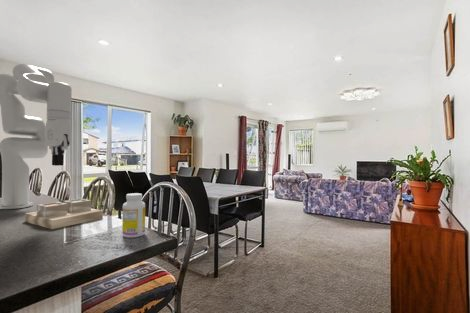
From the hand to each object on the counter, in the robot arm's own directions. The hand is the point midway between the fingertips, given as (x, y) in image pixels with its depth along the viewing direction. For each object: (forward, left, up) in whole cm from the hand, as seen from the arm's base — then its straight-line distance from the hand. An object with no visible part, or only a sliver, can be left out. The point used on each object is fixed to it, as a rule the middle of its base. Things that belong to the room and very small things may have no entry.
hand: (57, 165), depth 98 cm
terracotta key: (+3, -3, -17) cm, 18 cm away
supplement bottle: (+39, +3, -21) cm, 44 cm away
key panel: (+3, +2, -21) cm, 21 cm away
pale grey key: (+3, +6, -17) cm, 19 cm away
